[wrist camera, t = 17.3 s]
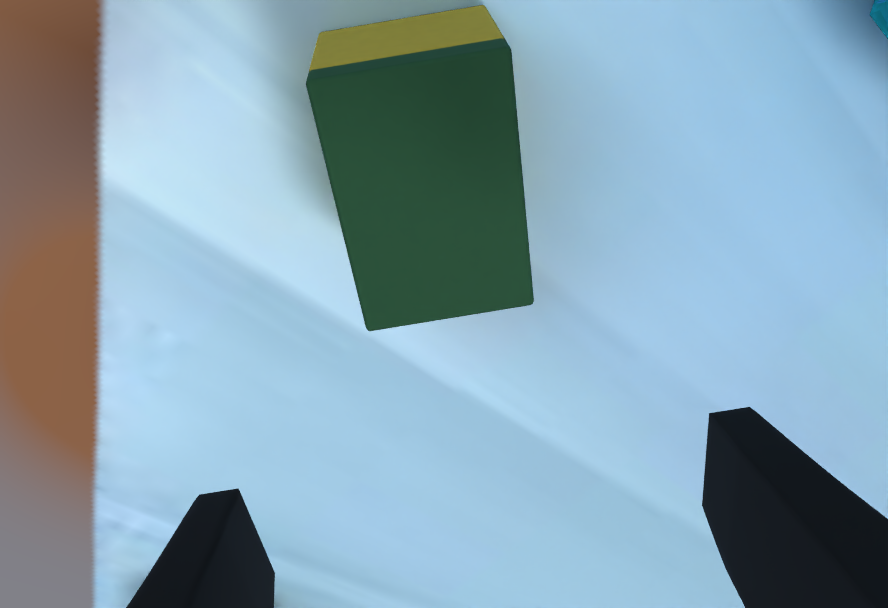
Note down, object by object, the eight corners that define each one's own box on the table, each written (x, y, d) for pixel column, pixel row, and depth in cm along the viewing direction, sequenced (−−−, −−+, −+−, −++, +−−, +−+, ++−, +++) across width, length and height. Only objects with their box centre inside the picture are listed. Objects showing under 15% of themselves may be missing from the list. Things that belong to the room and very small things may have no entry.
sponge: (485, 3, 17) (511, 46, 14) (508, 228, 21) (534, 306, 17) (317, 31, 17) (304, 81, 14) (368, 251, 21) (367, 333, 17)
